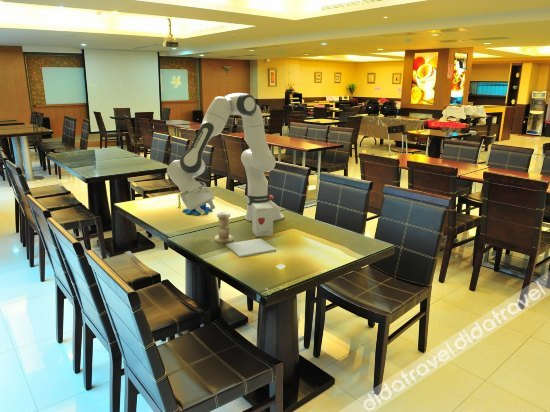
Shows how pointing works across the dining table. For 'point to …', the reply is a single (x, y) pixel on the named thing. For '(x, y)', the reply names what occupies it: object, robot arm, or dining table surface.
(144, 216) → the dining table surface
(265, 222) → the supplement box
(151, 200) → the dining table surface
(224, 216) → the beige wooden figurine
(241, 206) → the dining table surface
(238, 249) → the grey rubber mat
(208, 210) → the plush toy
